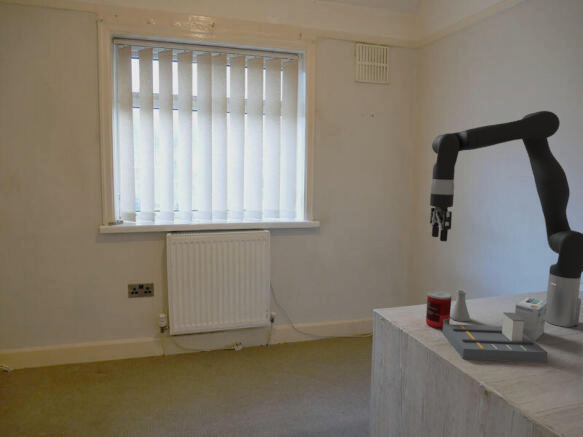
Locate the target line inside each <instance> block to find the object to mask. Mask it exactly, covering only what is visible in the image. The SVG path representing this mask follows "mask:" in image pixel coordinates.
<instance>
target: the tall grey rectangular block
mask: <svg viewBox="0 0 583 437" xmlns="http://www.w3.org/2000/svg"><path fill="white" fill-rule="evenodd" d="M502 313H503V316H502V317H503V318H502V326H503V327H502V334H504V335H505V336H506V337H507V338H508V339H509V340H510V341H522V336H523V326H524V321H525V320H523V319H522V318H521V317H519V316H518V315H516V314H515V312H506V311H503V312H502Z"/></svg>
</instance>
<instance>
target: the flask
mask: <svg viewBox="0 0 583 437" xmlns="http://www.w3.org/2000/svg"><path fill="white" fill-rule="evenodd" d="M456 293H457V295H456V296H457V297H456V300H455V303H454V304H453V307H452V309H451V310H450V319H452V320H453V321H457V322H458V321H459V322H470V321H471V317H470V313H469V311H468V307H467V302H466V294H467V291H465V290H456Z"/></svg>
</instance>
